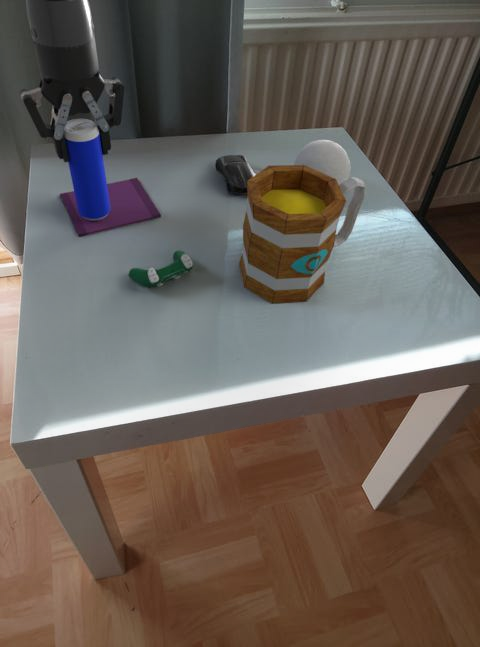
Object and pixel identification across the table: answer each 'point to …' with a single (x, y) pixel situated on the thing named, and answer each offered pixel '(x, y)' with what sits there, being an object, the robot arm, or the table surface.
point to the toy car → (235, 172)
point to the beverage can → (87, 168)
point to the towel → (114, 208)
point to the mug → (293, 230)
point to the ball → (325, 159)
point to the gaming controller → (162, 271)
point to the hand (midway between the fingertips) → (84, 155)
